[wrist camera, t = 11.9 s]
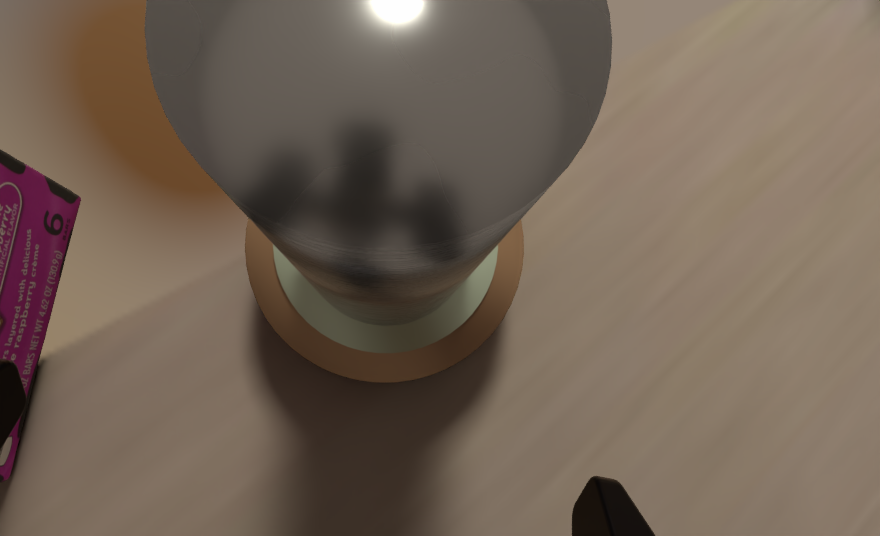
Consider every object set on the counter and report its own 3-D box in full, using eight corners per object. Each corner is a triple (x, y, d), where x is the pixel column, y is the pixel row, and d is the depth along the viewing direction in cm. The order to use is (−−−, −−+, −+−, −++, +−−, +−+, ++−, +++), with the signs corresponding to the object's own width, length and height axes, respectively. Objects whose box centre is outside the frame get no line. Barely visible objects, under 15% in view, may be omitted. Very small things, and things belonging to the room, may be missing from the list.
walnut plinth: (349, 431, 22) (342, 442, 19) (216, 221, 23) (189, 197, 20) (552, 292, 24) (578, 281, 20) (422, 102, 24) (427, 63, 21)
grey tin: (429, 354, 19) (507, 329, 7) (271, 281, 19) (48, 117, 7) (496, 203, 21) (672, -61, 8) (348, 135, 21) (284, -244, 8)
